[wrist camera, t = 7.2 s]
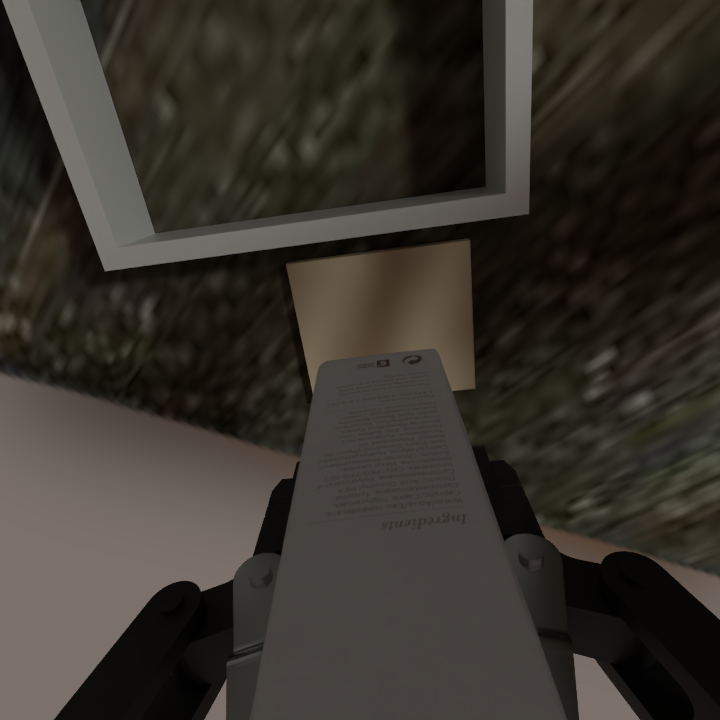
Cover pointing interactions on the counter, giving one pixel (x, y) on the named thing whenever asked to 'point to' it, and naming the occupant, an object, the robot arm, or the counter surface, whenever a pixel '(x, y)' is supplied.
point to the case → (145, 247)
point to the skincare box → (396, 565)
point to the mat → (388, 306)
